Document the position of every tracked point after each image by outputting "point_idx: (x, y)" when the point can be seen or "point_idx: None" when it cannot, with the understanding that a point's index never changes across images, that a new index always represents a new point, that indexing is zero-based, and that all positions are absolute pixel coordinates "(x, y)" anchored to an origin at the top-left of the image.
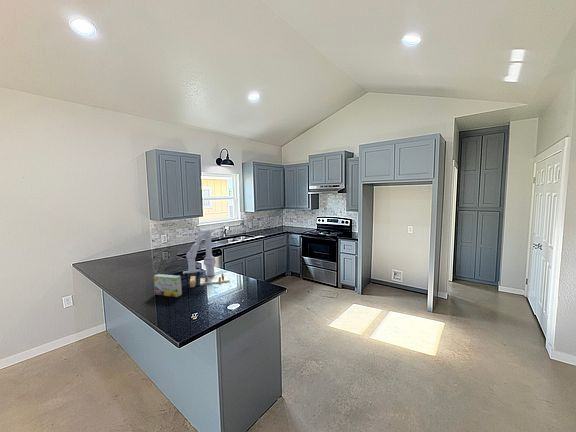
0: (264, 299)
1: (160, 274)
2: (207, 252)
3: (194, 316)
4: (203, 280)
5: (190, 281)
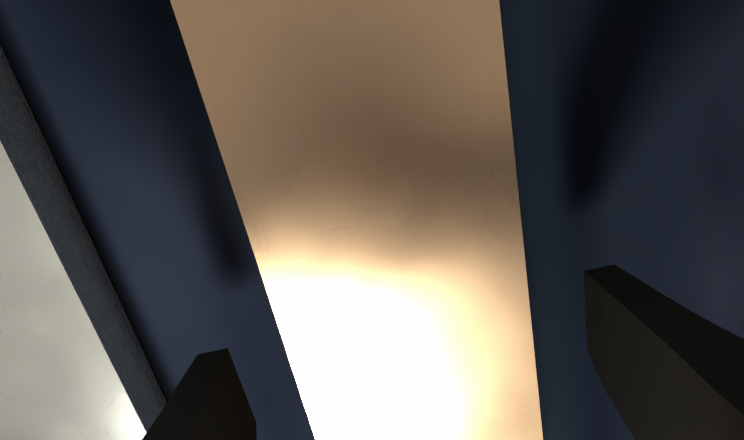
0: None
1: None
2: None
3: None
4: (8, 431)
5: (472, 72)
